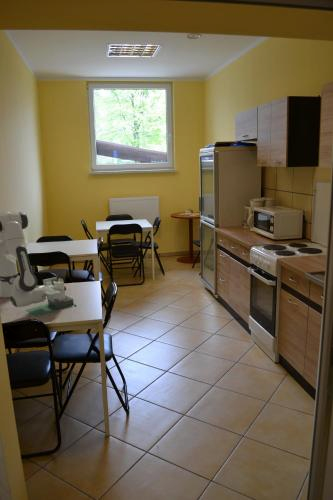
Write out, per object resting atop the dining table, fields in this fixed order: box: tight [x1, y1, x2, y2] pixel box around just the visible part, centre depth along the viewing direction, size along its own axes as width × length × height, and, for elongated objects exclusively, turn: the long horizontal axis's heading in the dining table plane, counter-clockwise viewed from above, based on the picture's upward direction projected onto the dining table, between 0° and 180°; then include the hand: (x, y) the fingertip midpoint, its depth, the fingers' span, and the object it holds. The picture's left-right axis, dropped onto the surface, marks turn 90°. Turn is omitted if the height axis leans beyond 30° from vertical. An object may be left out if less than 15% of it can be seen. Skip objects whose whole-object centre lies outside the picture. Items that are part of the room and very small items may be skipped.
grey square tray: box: [47, 294, 75, 309], centre depth 247 cm, size 11×11×4 cm
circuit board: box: [25, 303, 77, 317], centre depth 243 cm, size 15×26×1 cm, turn 131°
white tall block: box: [54, 275, 66, 302], centre depth 245 cm, size 4×4×16 cm
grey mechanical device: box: [42, 276, 67, 291], centre depth 279 cm, size 18×10×12 cm
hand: (60, 289), depth 245 cm, fingers closed on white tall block, 4 cm apart
